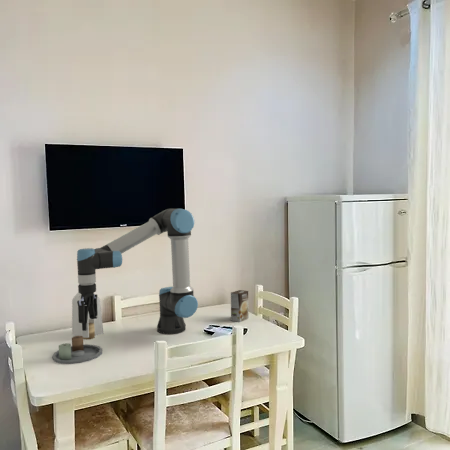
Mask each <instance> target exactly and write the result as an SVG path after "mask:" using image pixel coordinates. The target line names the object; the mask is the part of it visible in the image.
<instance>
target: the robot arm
mask: <svg viewBox="0 0 450 450" xmlns="http://www.w3.org/2000/svg"><path fill="white" fill-rule="evenodd" d="M194 227H195V218H194V216H193V214H192V213H191V212H190V211H189V210H187V209H183V208H166V209H165V210H161V212H159V213H157V214H155V215H154V216H152V217H150V218H149V219H148V221H147V222H145V223H144V224H141V225H140V226H138V227H136V228H134V229H132V230H130V231H129V232H127V233H125V234H123V235H121V236H119V237H118V238H115V239H114V240H113V241H111V242H109V243H107V244H105V245H103V246H101V247H97V248H92V247H91V248H90V247H88V248H86V247H85V248H79V249H78V250H77V252H76V263H77V283H78V285H77V288H78V289H77V291H78V292H79V293H80V294H81V300H80V301H77V304H78V318H79V323H82V335H83V337H85V338H88V337H89V323H94V327H95V319H97V317H96V316H97V315H98V312H97V296H98V294H97V283H96V282H97V276H96V271H97V270H100V269H101V270H102V269H113V268H120V267H121V266H122V264H123V255H122V254H123V253H126V252H127V251H129V250H131V249H132V248H135V247H136V246H138V245H139V244H141V243H143V242H145V241H147V240H148V239H150V238H152V237H154V236H156V235H158V236H160V235H161V234H164V233H166V232H167V238H169V240H170V245H171V246H170V247H171V248H170V249H171V251H170V252H171V271H172V286H166V287H161V288H160V289H159V291H158V292H159V293H158V300H159V319H158V322H157V326H156V331H157V333H159V334H162V335H176V334H181V333H183V332H185V331H186V329H187V327H186V322H185V320H184V319H186V318H190V317H192V316H193V315H194V314H195V313H197V310H198V308H199V302H198V299H197V297H196V296H195V294H194V293H195V292H194V288H193V287H192V286H191V279H190V277H191V276H190V275H191V274H190V253H189V238H190V237H191V236H192V234H191V233H192V230H193V228H194ZM78 292H77V293H78ZM95 292H96V294H95ZM88 312H89V317H90V318H91V319H89V323H87V320H88Z"/></svg>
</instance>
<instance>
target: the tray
mask: <svg viewBox="0 0 450 450" xmlns="http://www.w3.org/2000/svg"><path fill="white" fill-rule="evenodd" d="M83 346H84V350H78V351H74V352H73V351H72V345H71V359H70V360H61V359H59V349H58V350H57V351H55V352H53V354H52V356H51V357H52V361H54V363H58V364H61V365H72V364H74V365H75V364H82V363H86V362H91V361H93V360H95V359H98V358H99V357H100V356H101V355H102V354H103V348H102V347H101V346H100V345H96V344H85V343H83Z"/></svg>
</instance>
